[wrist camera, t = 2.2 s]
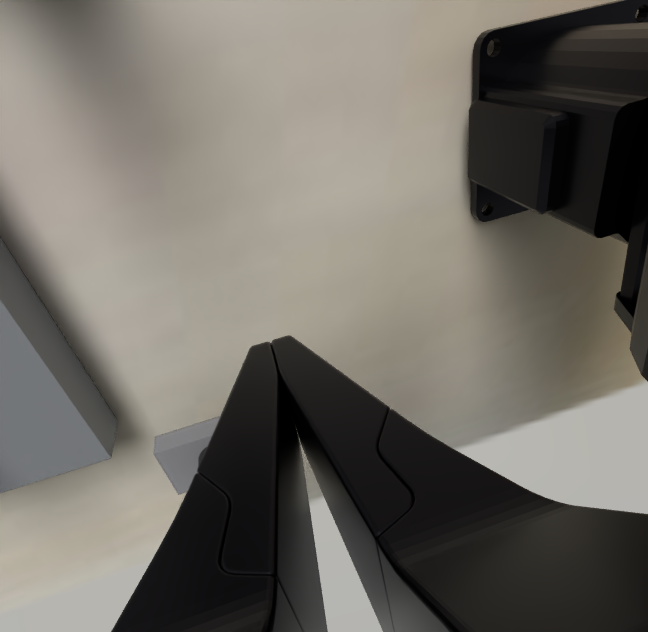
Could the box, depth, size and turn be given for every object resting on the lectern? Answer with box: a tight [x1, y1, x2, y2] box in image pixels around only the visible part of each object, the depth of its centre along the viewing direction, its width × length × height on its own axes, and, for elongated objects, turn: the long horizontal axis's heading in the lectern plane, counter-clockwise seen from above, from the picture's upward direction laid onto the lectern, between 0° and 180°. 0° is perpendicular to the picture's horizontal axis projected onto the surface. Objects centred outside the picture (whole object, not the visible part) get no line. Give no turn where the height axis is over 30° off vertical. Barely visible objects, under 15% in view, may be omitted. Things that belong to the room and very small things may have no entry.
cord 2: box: [154, 416, 220, 495], centre depth 17 cm, size 5×3×10 cm, turn 101°
